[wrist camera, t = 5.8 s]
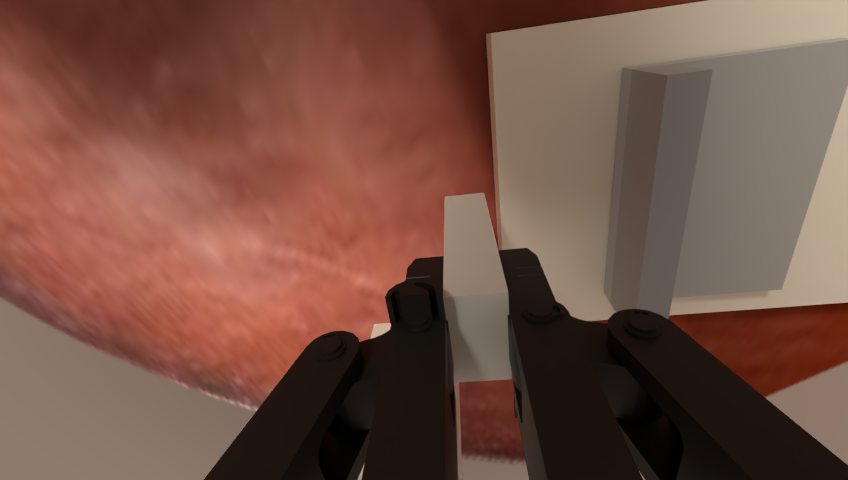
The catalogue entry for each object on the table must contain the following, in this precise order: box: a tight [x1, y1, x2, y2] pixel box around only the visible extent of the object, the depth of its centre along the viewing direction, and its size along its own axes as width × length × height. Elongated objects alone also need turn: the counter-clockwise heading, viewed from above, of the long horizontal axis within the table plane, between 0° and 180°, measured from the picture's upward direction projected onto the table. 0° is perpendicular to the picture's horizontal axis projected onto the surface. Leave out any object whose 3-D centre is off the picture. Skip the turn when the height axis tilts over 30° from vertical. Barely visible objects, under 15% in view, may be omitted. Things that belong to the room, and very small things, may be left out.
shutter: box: [604, 38, 848, 320], centre depth 14 cm, size 7×10×3 cm
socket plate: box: [486, 0, 848, 321], centre depth 17 cm, size 19×13×2 cm
